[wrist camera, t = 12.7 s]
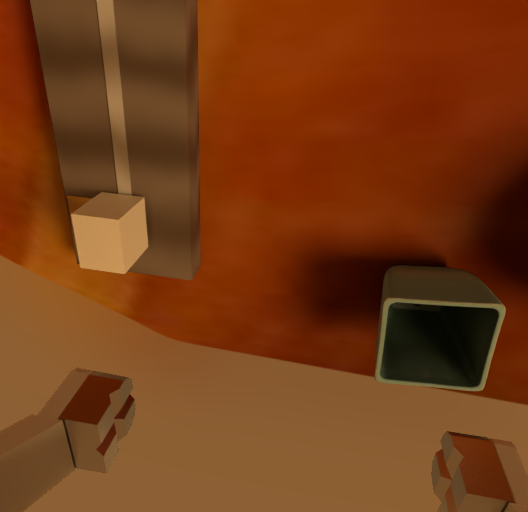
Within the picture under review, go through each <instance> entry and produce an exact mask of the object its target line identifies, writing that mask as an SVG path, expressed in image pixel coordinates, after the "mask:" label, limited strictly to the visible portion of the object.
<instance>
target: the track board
mask: <svg viewBox="0 0 528 512" xmlns="http://www.w3.org/2000/svg"><path fill="white" fill-rule="evenodd" d="M30 3H31V9H32V14H33V20H34V26H35V31H36V37H37V42H38V48H39V53H40V59H41V64H42V70H43V76H44V81H45V87H46V92H47V98H48V103H49V109H50V115H51V120H52V126H53V131H54V137H55V142H56V148H57V153H58V159H59V165H60V170H61V176H62V181H63V187H64V192H65V198H66V204H67V209H68V215H69V220H70V226H71V231H72V237H73V242H74V248H75V254H76V259H77V264H80V263H79V257H78V252H77V246H76V240H75V235H74V229H73V223H72V218H71V213H73V212H74V211H76V210H77V209H78V208H80V207H81V206H83V205H84V204H85V203H87V202H88V201H90V200H91V199H92V198H94V197H95V196H97V195H98V194H100V193H101V192H106V193H114V194H122V195H130V196H138V197H144V200H145V212H146V224H147V237H148V248H147V249H146V250H145V251H144V252H143V254H142V255H141V256H140V257H139V258H138V259H137V261H136V262H135V263H134V264H133V265H132V266H131V268H130V269H129V270H128V271H129V272H136V273H142V274H149V275H156V276H163V277H170V278H177V279H184V280H191V281H192V279H193V277H194V276H195V274H196V272H197V270H198V269H199V267H200V191H199V112H198V34H197V0H30Z"/></svg>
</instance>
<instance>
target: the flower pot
mask: <svg viewBox="0 0 528 512" xmlns="http://www.w3.org/2000/svg"><path fill="white" fill-rule="evenodd" d="M416 304H418V305H416ZM505 311H506V309H505V306H504V305H503V304H502V303H501V302H500V300H499V299H498V298H497V297H496V296H495V295H494V294H493V293H492V291H491V290H490V289H489V288H488V287H487V286H486V285H485V284H484V283H483V282H482V281H481V280H480V279H479V278H477V277H476V276H475V275H473V274H471V273H469V272H467V271H463V270H460V269H455V268H447V267H427V266H408V265H397V266H393V267H391V268H389V269H388V270H387V271H386V273H385V276H384V282H383V291H382V300H381V309H380V318H379V326H378V333H377V341H376V359H375V380H376V381H378V382H383V383H389V384H404V385H414V386H415V385H417V386H427V387H437V388H447V389H456V390H465V391H480V390H483V388H484V386H485V383H486V379H487V375H488V371H489V367H490V363H491V359H492V356H493V352H494V349H495V345H496V342H497V338H498V335H499V332H500V328H501V325H502V322H503V319H504V316H505Z"/></svg>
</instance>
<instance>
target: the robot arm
mask: <svg viewBox="0 0 528 512" xmlns="http://www.w3.org/2000/svg"><path fill="white" fill-rule="evenodd" d="M132 389H133V384H132V379H131V378H127V377H122V376H117V375H112V374H107V373H102V372H97V371H91V370H86V369H81V368H76V369H74V370H73V371H72V372H70V374H69V375H68V376H67V377H66V379H65V380H64V381H63V383H62V384H61V385H60V387H59V388H58V389H57V390H56V392H55V393H54V394H53V395H52V397H51V398H50V399H49V401H48V402H47V403H46V405H45V406H44V407H43V408H42V410H41V411H40V412H39V414H38V415H33V414H32V415H30V416H28V417H26V418H24V419H22V420H21V421H19V422H17V423H15V424H13V425H11V426H10V427H8V428H6V429H4V430H2V431H0V512H23V511H24V510H25V509H27V508H28V507H29V506H30V505H32V504H33V503H34V502H36V501H37V500H38V499H39V498H40V497H42V496H43V495H44V494H46V493H47V492H48V491H49V490H51V489H52V488H53V487H54V486H56V485H57V484H58V483H59V482H61V481H62V480H63V479H64V478H66V477H67V476H68V475H69V474H71V473H72V472H73V471H74V470H75V468H78V469H84V470H90V471H96V472H102V473H107V472H108V470H109V468H110V466H111V464H112V462H113V460H114V458H115V457H116V455H117V453H118V451H119V448H118V441H119V440H120V439H122V438H123V437H125V436H126V435H127V433H128V431H129V429H130V427H131V425H132V422H133V418H134V415H135V399H134V398H133V397H132V396H131V395H130V393H131V391H132ZM441 445H442V449H441V450H440V451H438V452H436V453H435V456H434V459H433V462H432V472H431V474H432V484H433V490H434V493H435V494H436V495H437V497H438V498H439V499H440V500H441V505H440V506H439V509H438V512H528V475H527V473H526V470H525V468H524V466H523V463H522V461H521V458H520V456H519V454H518V451H517V449H516V446H515V445H514V444H513V443H512V442H509V441H503V440H497V439H490V438H486V437H480V436H474V435H467V434H460V433H455V432H448V431H447V432H445V433H444V434H443V436H442V439H441Z"/></svg>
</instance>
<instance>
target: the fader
mask: <svg viewBox="0 0 528 512" xmlns="http://www.w3.org/2000/svg"><path fill="white" fill-rule="evenodd" d="M71 218H72V223H73V229H74V235H75V240H76V246H77V252H78V257H79V263H80V268H86V269H93V270H100V271H107V272H114V273H121V274H125V273H126V272H127V271H128V270H129V269H130V268H131V266H132V265H133V264H134V263H135V262H136V261H137V259H138V258H139V257H140V256H141V255H142V254H143V252H144V251H145V250H146V249H147V248H148V237H147V224H146V212H145V200H144V197H138V196H130V195H122V194H114V193H106V192H101V193H100V194H98V195H97V196H95V197H94V198H92V199H91V200H90V201H88V202H87V203H85V204H84V205H83V206H81V207H80V208H78V209H77V210H76V211H74V212H73V213H71Z"/></svg>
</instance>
